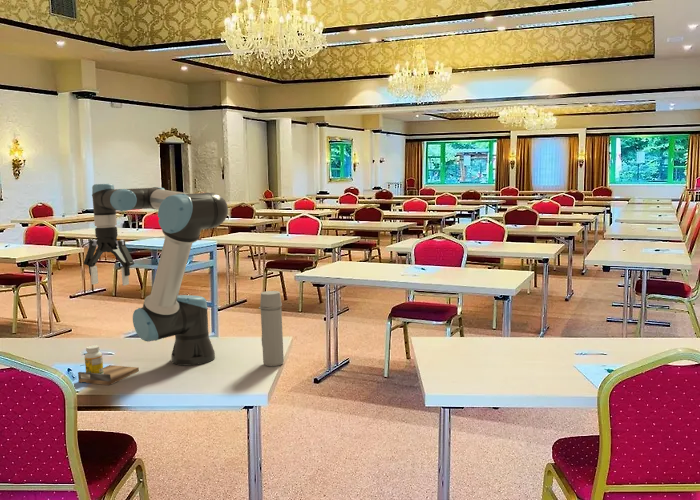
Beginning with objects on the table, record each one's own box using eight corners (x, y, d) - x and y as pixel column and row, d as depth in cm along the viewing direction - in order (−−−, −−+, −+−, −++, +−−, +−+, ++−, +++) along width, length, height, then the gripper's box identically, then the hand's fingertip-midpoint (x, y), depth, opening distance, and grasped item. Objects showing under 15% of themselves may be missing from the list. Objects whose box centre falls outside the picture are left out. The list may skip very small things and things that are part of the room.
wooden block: (138, 371, 222) (138, 361, 222) (108, 385, 208) (108, 375, 208) (109, 368, 226) (108, 359, 226) (78, 382, 212) (77, 372, 212)
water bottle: (289, 363, 226) (286, 292, 223) (271, 368, 220) (268, 295, 217) (272, 358, 232) (268, 289, 229) (254, 363, 227) (251, 292, 224)
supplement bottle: (105, 375, 214) (103, 347, 213) (88, 378, 211) (85, 350, 210) (101, 371, 219) (99, 343, 217) (84, 374, 216) (82, 346, 215)
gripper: (141, 225, 236) (145, 283, 239) (85, 225, 244) (89, 281, 247) (128, 227, 229) (132, 287, 232) (70, 227, 237) (75, 285, 240)
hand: (110, 284), depth 239 cm, fingers open, 13 cm apart
